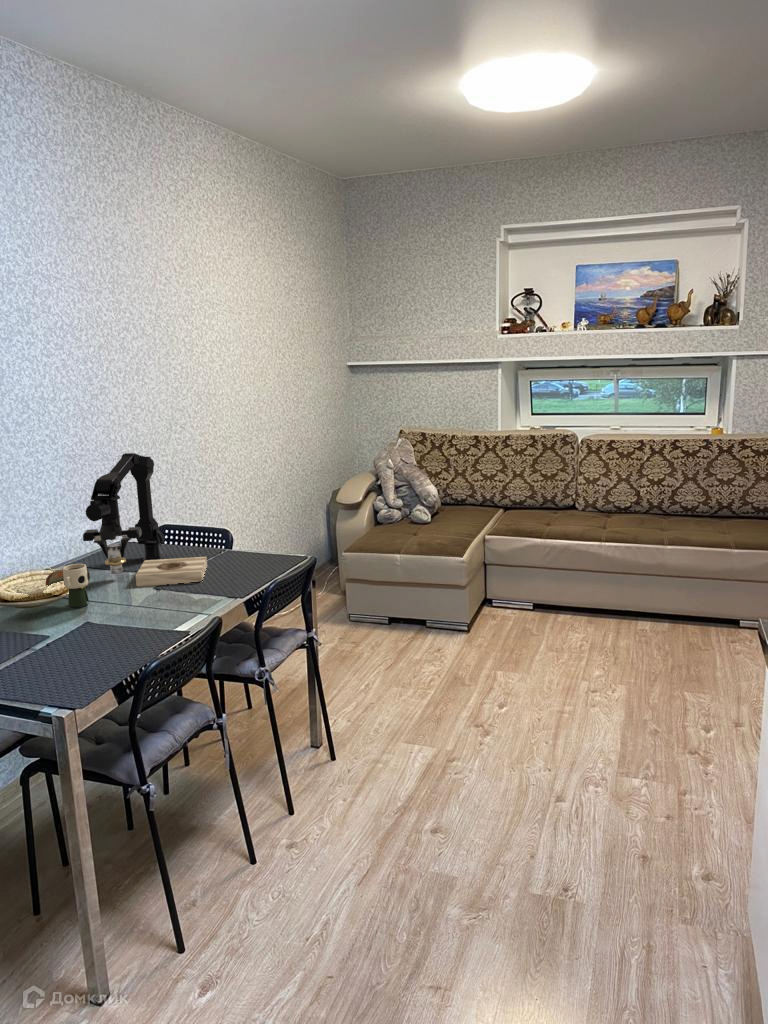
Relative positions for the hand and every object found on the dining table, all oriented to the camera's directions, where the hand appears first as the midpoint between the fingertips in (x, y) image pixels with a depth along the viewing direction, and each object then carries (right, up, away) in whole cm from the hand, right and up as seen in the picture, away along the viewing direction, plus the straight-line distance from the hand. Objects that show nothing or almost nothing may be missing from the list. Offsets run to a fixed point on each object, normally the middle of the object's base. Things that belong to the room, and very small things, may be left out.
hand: (115, 557), depth 273 cm
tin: (-12, -11, -9) cm, 19 cm away
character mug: (-4, -14, -23) cm, 27 cm away
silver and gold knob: (0, -5, +1) cm, 5 cm away
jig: (+19, -7, +4) cm, 21 cm away
